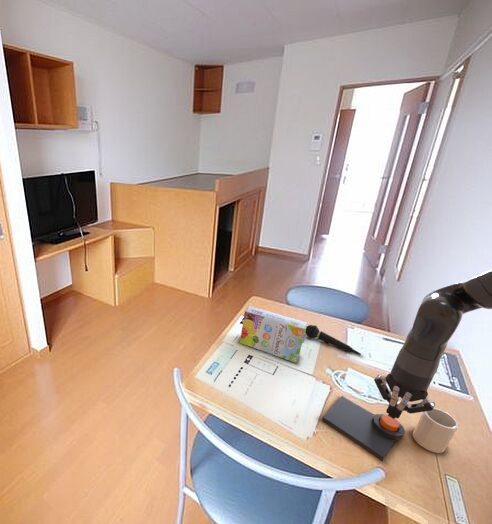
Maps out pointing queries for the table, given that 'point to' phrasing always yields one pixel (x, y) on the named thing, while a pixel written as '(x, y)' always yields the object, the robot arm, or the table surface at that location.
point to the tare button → (389, 423)
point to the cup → (435, 430)
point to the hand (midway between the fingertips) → (392, 415)
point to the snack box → (273, 333)
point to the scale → (362, 427)
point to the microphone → (327, 338)
